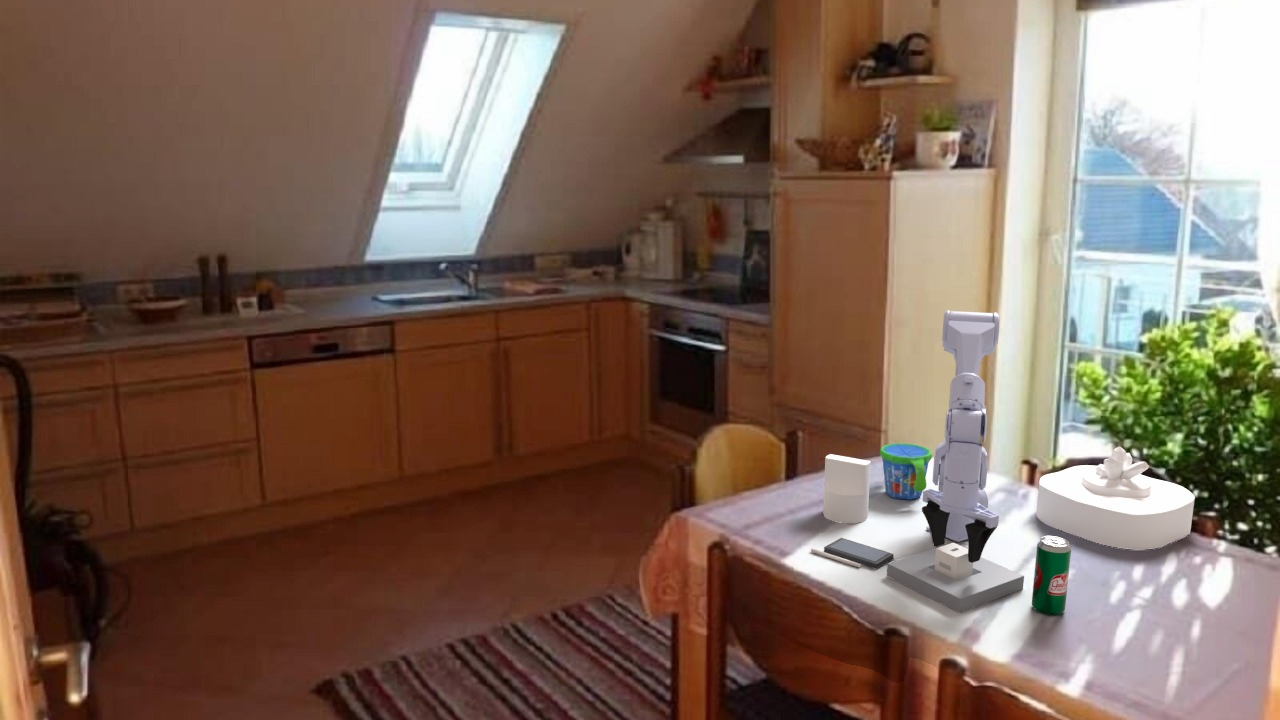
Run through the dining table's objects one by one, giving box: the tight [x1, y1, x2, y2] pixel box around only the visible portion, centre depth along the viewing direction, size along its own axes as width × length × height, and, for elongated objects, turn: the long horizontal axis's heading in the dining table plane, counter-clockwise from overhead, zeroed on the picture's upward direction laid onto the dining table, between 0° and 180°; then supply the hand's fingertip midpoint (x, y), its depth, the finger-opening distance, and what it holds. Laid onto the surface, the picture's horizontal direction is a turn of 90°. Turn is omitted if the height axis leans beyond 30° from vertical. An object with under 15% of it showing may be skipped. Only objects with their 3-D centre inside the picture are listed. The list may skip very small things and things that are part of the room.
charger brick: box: [935, 542, 973, 581], centre depth 167 cm, size 4×4×6 cm
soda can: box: [1031, 535, 1072, 616], centre depth 157 cm, size 5×5×12 cm
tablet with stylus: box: [810, 537, 894, 570], centre depth 179 cm, size 8×13×1 cm, turn 47°
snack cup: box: [879, 442, 933, 501], centre depth 209 cm, size 16×10×10 cm
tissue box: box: [1035, 446, 1196, 549], centre depth 193 cm, size 25×25×16 cm
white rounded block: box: [822, 453, 872, 524], centre depth 197 cm, size 9×9×12 cm
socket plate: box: [886, 543, 1025, 613], centre depth 168 cm, size 16×16×2 cm
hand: (956, 552), depth 167 cm, fingers open, 7 cm apart
